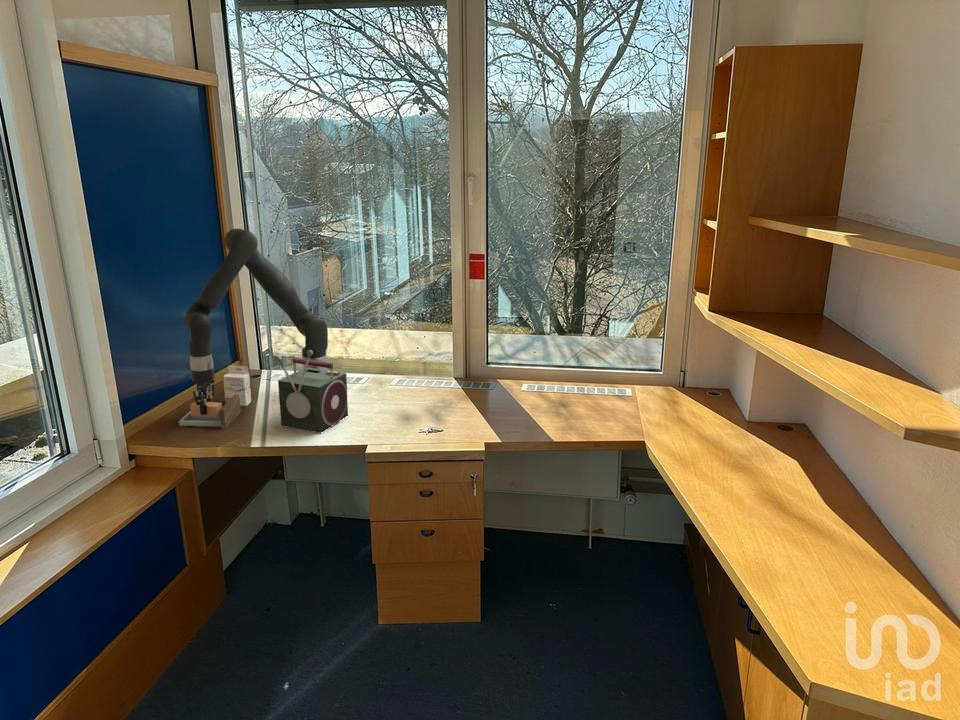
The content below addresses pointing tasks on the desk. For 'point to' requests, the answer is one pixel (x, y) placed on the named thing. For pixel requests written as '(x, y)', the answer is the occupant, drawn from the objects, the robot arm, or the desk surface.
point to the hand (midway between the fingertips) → (206, 411)
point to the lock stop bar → (211, 409)
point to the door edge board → (230, 411)
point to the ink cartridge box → (237, 384)
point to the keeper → (200, 421)
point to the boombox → (312, 396)
